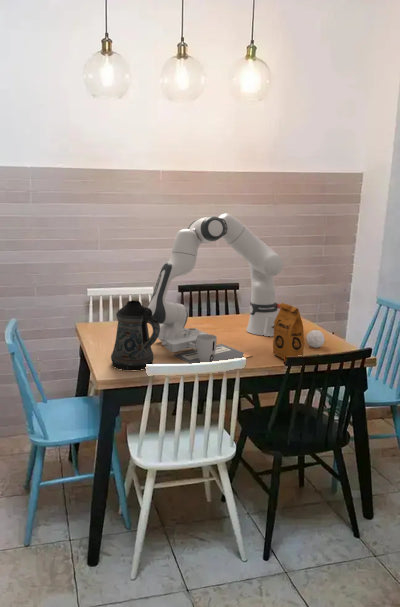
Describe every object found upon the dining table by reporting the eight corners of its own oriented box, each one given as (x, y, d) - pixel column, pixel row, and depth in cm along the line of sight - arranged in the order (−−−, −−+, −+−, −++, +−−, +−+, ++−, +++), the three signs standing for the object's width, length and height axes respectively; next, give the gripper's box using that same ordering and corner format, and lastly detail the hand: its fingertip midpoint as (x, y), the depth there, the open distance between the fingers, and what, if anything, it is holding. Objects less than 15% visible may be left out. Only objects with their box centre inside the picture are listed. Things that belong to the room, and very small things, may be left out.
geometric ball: (319, 353, 236) (331, 341, 233) (307, 349, 232) (319, 337, 228) (312, 340, 242) (323, 328, 238) (299, 336, 237) (311, 324, 233)
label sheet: (221, 344, 237) (221, 343, 237) (252, 356, 222) (252, 356, 222) (172, 355, 222) (172, 354, 222) (202, 369, 207) (202, 368, 206)
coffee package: (285, 364, 214) (288, 310, 209) (269, 354, 225) (272, 303, 220) (306, 361, 218) (310, 308, 213) (289, 351, 229) (292, 301, 224)
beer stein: (115, 356, 219) (114, 296, 213) (163, 357, 218) (163, 297, 213) (107, 371, 203) (105, 306, 197) (158, 372, 202) (159, 307, 196)
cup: (214, 365, 210) (214, 340, 208) (193, 363, 212) (194, 339, 209) (217, 358, 218) (218, 334, 216) (198, 357, 220) (198, 333, 217)
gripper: (159, 335, 220) (179, 344, 210) (199, 327, 233) (220, 335, 222) (159, 350, 222) (178, 359, 211) (199, 341, 234) (219, 350, 223)
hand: (200, 347), depth 217 cm, fingers closed, pressing on cup
